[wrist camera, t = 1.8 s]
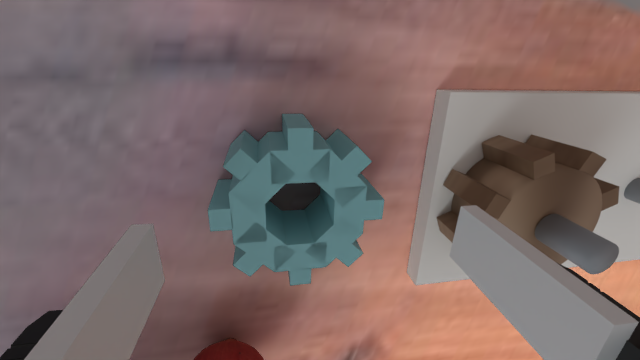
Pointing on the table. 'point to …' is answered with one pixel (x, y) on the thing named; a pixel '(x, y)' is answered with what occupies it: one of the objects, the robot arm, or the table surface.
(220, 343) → the onion
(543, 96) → the gear board
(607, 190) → the walnut gear
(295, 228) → the teal gear
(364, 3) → the table surface
